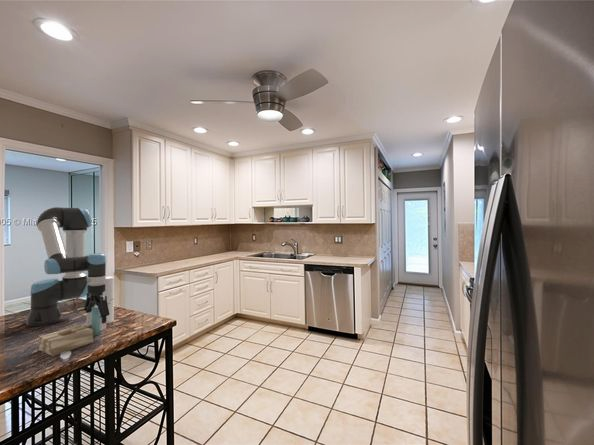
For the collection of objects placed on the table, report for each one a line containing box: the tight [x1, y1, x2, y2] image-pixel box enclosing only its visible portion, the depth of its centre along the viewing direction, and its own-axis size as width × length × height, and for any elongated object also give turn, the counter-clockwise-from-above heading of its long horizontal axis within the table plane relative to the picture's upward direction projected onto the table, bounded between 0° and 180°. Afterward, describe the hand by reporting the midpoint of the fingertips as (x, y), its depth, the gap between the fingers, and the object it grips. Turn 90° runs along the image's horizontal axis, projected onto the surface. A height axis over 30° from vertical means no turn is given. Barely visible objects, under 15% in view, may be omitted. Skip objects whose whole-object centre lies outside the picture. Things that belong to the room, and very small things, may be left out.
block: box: [38, 324, 94, 357], centre depth 134 cm, size 12×16×6 cm
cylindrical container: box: [103, 276, 115, 324], centre depth 167 cm, size 7×7×25 cm
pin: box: [90, 305, 102, 337], centre depth 148 cm, size 4×4×14 cm
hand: (96, 327), depth 148 cm, fingers open, 11 cm apart
